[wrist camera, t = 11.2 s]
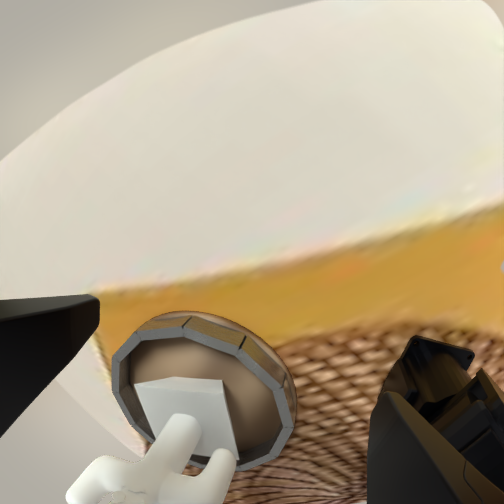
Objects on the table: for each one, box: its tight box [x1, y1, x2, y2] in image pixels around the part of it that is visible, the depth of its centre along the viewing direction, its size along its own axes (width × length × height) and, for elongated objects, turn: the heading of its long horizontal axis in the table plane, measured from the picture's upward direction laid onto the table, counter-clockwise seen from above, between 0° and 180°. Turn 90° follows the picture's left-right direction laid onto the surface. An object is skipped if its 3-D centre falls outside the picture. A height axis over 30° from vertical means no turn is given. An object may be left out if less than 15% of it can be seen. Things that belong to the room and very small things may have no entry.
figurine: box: [66, 377, 239, 504], centre depth 17 cm, size 7×9×15 cm
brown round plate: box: [130, 311, 297, 452], centre depth 24 cm, size 16×16×1 cm
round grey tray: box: [112, 315, 296, 471], centre depth 23 cm, size 16×16×2 cm
